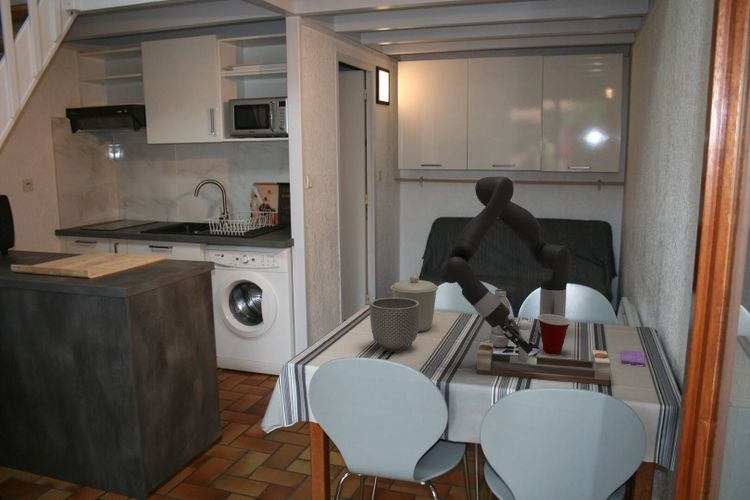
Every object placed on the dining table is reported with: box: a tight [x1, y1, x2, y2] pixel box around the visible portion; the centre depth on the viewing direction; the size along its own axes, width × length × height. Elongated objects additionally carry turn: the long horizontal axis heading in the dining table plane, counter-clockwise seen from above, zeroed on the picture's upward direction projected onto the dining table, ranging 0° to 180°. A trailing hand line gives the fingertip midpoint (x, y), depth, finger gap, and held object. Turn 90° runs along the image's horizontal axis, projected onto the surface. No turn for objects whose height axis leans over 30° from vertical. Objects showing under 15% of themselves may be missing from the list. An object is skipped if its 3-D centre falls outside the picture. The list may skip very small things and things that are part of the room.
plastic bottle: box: [489, 288, 511, 348], centre depth 213 cm, size 6×7×20 cm
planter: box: [369, 296, 420, 352], centre depth 212 cm, size 17×17×16 cm
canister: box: [390, 274, 439, 333], centre depth 235 cm, size 18×18×21 cm
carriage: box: [510, 319, 537, 365], centre depth 189 cm, size 6×8×15 cm
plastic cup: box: [537, 314, 572, 356], centre depth 207 cm, size 11×11×12 cm
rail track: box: [476, 341, 611, 386], centre depth 188 cm, size 12×38×7 cm, turn 75°
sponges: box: [620, 349, 646, 367], centre depth 200 cm, size 7×13×2 cm, turn 159°
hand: (530, 349), depth 188 cm, fingers closed on carriage, 3 cm apart
